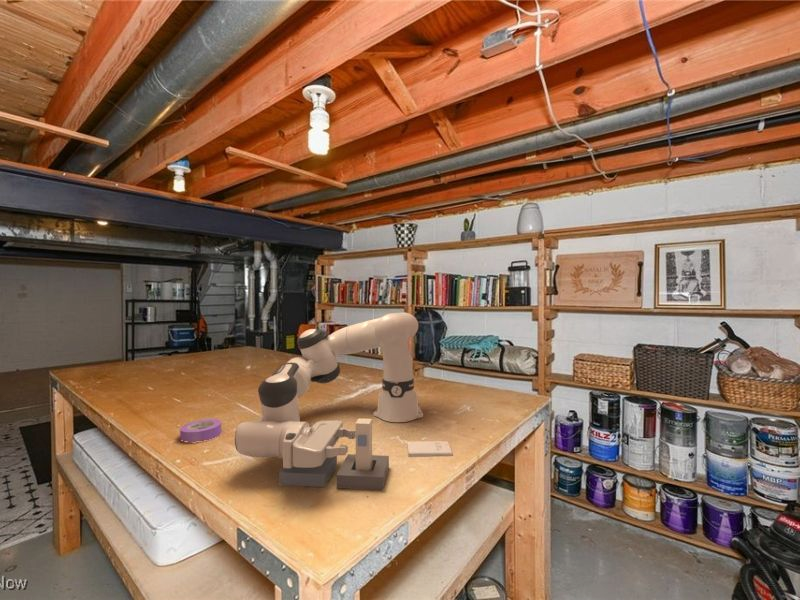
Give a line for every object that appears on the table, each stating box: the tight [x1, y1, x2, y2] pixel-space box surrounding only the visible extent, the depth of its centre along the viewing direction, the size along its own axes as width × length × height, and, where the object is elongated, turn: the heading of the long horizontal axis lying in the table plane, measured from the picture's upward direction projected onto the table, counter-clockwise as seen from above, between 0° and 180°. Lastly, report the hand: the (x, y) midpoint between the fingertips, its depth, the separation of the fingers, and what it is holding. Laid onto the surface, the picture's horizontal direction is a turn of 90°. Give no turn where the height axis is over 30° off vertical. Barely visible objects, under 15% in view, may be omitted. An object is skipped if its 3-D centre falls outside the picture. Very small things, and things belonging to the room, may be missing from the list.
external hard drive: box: [406, 440, 453, 457], centre depth 103 cm, size 2×8×12 cm
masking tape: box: [179, 418, 223, 442], centre depth 114 cm, size 12×12×4 cm
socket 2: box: [336, 453, 390, 491], centre depth 87 cm, size 11×11×3 cm
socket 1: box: [278, 456, 338, 488], centre depth 89 cm, size 11×11×3 cm
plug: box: [354, 418, 373, 471], centre depth 87 cm, size 4×4×14 cm
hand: (351, 442), depth 87 cm, fingers open, 8 cm apart
